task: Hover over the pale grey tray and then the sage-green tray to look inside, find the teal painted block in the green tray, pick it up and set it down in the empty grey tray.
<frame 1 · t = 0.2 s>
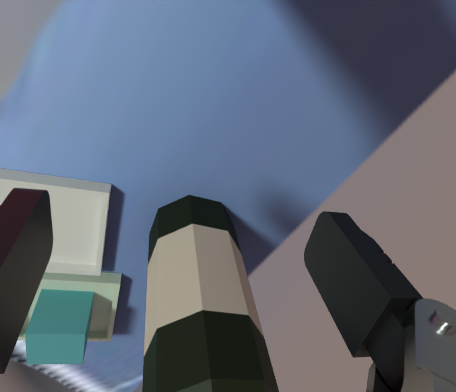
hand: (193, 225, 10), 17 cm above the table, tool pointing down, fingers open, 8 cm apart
wine bottle: (191, 227, 33), on the table
teal block: (67, 305, 35), resting on green tray
green tray: (68, 301, 36), on the table
grey tray: (47, 221, 29), on the table
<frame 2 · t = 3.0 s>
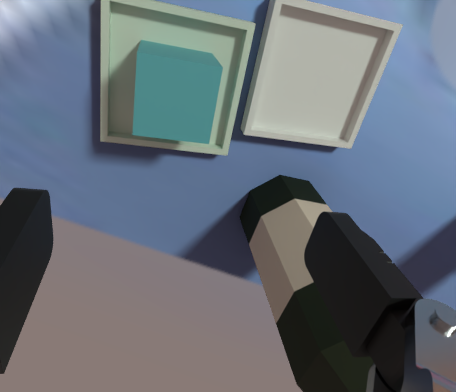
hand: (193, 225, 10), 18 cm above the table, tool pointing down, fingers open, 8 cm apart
wine bottle: (279, 209, 34), on the table
teal block: (173, 82, 25), resting on green tray
green tray: (173, 80, 25), on the table
grey tray: (312, 78, 27), on the table
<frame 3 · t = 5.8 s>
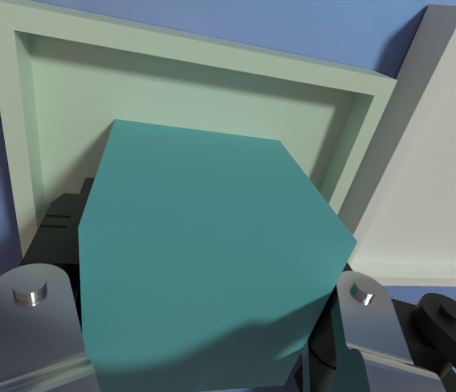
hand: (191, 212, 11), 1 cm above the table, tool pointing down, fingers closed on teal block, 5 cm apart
wine bottle: (358, 358, 20), on the table
teal block: (190, 199, 11), point 1 cm above the table, touching green tray, gripper
green tray: (189, 192, 12), on the table
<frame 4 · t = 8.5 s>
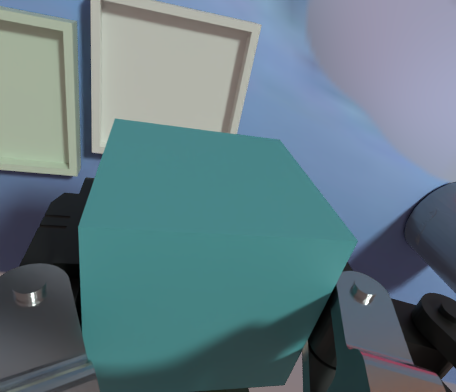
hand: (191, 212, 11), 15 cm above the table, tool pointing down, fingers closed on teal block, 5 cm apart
teal block: (190, 199, 11), point 14 cm above the table, touching gripper
grey tray: (171, 86, 23), on the table
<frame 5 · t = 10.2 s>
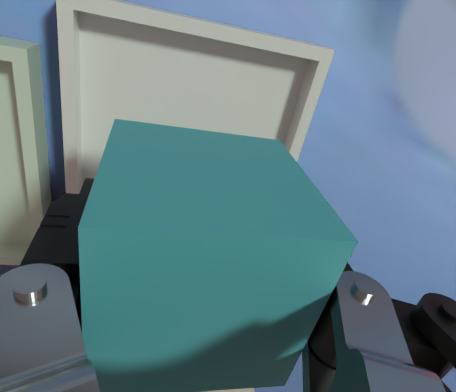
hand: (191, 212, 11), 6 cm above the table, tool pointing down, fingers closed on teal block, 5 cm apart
teal block: (190, 199, 11), point 5 cm above the table, touching gripper
grey tray: (187, 138, 15), on the table
when the fingers open (3 cm above the table, at t = 11.3 s): teal block drops 1 cm, resting on grey tray.
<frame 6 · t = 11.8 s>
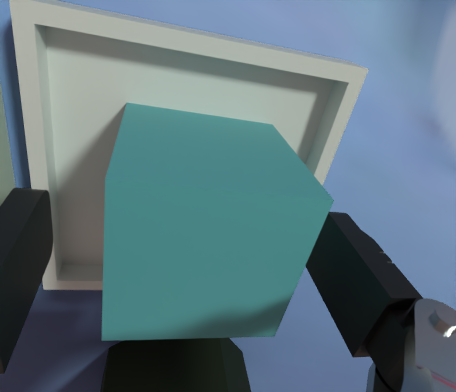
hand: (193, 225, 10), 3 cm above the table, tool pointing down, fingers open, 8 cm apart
wine bottle: (173, 363, 20), on the table
teal block: (192, 178, 12), resting on grey tray
grey tray: (186, 172, 13), on the table
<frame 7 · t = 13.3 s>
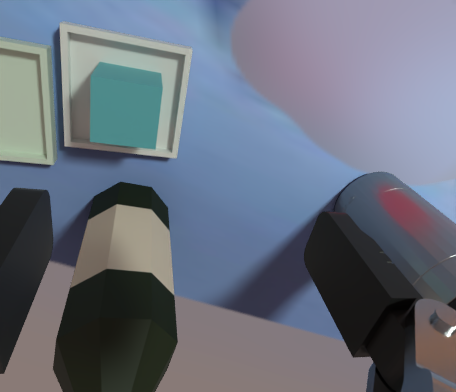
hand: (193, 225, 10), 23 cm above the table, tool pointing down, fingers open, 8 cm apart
wine bottle: (130, 213, 36), on the table
teal block: (129, 96, 29), resting on grey tray
grey tray: (127, 95, 29), on the table
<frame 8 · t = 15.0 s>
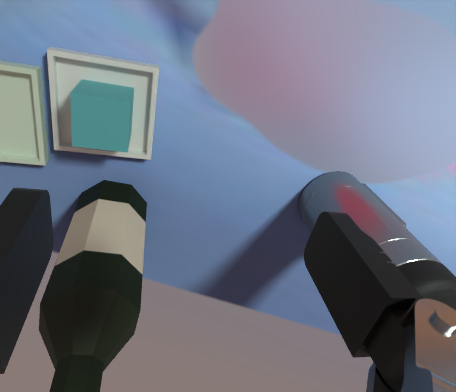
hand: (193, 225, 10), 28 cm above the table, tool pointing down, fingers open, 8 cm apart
wine bottle: (113, 207, 42), on the table
teal block: (107, 107, 34), resting on grey tray
grey tray: (106, 106, 35), on the table
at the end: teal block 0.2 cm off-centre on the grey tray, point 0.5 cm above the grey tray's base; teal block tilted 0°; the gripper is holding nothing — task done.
